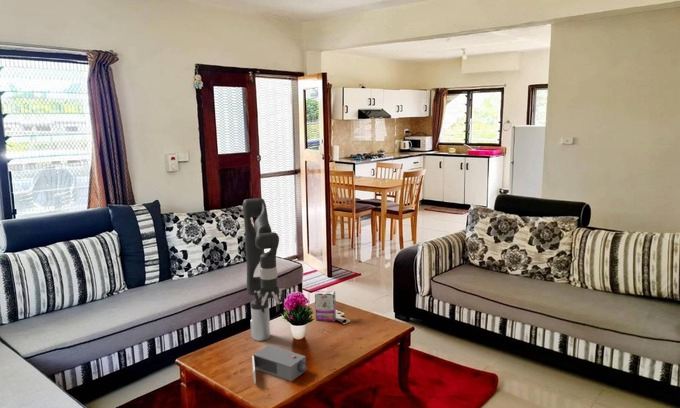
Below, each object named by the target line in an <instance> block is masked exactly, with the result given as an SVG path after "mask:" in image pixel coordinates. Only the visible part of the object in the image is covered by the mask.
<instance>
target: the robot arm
mask: <svg viewBox="0 0 680 408" xmlns="http://www.w3.org/2000/svg"><path fill="white" fill-rule="evenodd" d="M267 209H268V208H267V205H266V201H265V199H264V198H261V197H258V198H246V199H244V200H243V202H242V214H243V215H242V216H243V221H244V236H245V237H244V241H245V260H246V291H247V294H248V296H254V297H255V298H254V299H252V301H251V302H250V312H251V314H250V316H251V319H250V320H249V321H250V322H249V323H250V336H251V337H250V338H252V339H253V340H254V341H258V342H260V341H261V342H262V341H263V342H264V341H265V340H269V339H270V338H271V327H270V305H269V299H273V300H274V301H275V302H276V303H275V309H276V310H275V311H276V313H277V312H279V311H280V308H281V307H280V304H281V303H284V300H285V299H284V298H285V292H286V291H285V288H284V287H281V288H279V284H278V269H277V252H278V249H279V244H280V237H279V235H278V233H276V232H275V231H274V232H272V231H273V230H272V228H271V225H270V222H269V217H268V211H267ZM251 218H256V219H255V221H254V224H253V223H252V221H251ZM269 249H270V250H269ZM265 250H269V251H266V252H265ZM258 265H260V268H259V269H260V271H259V272H260V274H259V276H254V275H255V271H256V269H257V267H258ZM278 293H280V298H279V297H278V296H277V295H278Z"/></svg>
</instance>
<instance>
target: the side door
mask: <svg viewBox="0 0 680 408" xmlns="http://www.w3.org/2000/svg"><path fill="white" fill-rule="evenodd" d="M251 362H252V381H253V384H255V385H256V384H257V382H256V381H257V380H256V369H255V364H254V355H253V354H251Z"/></svg>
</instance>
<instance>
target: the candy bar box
mask: <svg viewBox="0 0 680 408" xmlns="http://www.w3.org/2000/svg"><path fill="white" fill-rule="evenodd" d="M314 302H315V303H314V304H315V321H316V322H318V321H319V322H335V321H336V319H337V308H336V307H337V306H336V305H337V304H336V291H331V290H330V291H328V290H316V291H315V293H314ZM335 318H336V319H335Z"/></svg>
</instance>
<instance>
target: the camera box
mask: <svg viewBox="0 0 680 408" xmlns="http://www.w3.org/2000/svg"><path fill="white" fill-rule="evenodd" d="M252 355H254V364H255V370H257V371H259V372H263V373H266V374H268V375H272V376H274V377H278V378H279V379H283V380H286V381H288V382H293V381H295V379H297V378H298V377H299V376H301V375H302V374H303V373H305V372H306V371H307V366H308V365H307V357H306V355H303V354H300V353H296V352H293V351H290V350H287V349H283V348H280V347H276V346H273V345H270V344H268V345H266V346H264V347H263V348H261V349H260V350H258V351H257V352H255V353H253V354H252Z"/></svg>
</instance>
